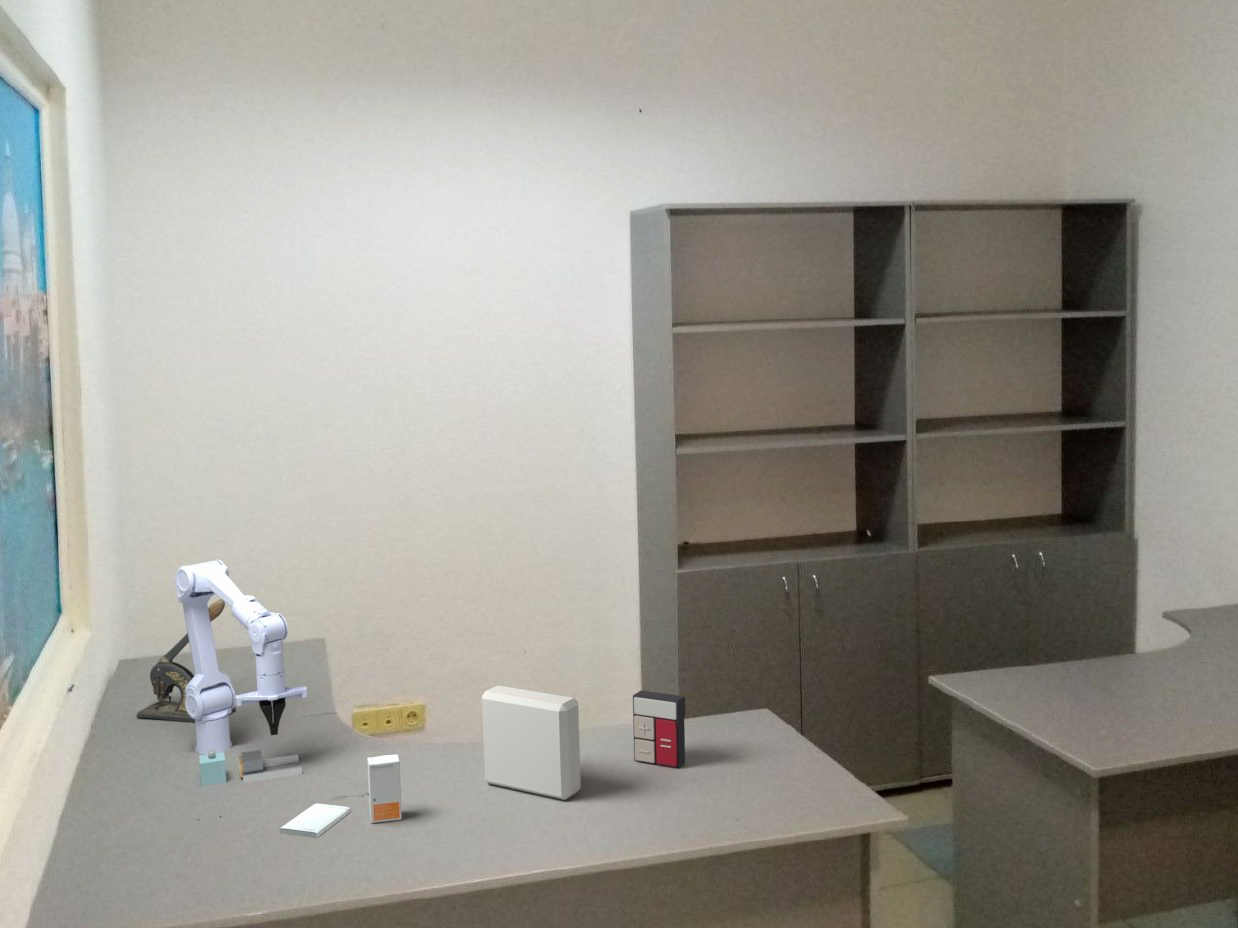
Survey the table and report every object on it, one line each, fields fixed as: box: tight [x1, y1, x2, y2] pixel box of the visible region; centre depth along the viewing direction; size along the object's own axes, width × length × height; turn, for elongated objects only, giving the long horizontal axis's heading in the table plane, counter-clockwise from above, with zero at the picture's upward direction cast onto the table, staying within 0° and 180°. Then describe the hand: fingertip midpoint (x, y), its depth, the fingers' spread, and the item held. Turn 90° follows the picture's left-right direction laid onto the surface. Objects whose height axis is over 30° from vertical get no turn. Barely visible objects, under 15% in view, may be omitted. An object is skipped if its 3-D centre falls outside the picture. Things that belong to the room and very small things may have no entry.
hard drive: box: [278, 802, 351, 839], centre depth 230 cm, size 2×8×12 cm
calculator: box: [632, 689, 686, 769], centre depth 256 cm, size 11×4×15 cm, turn 62°
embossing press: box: [136, 598, 237, 723], centre depth 295 cm, size 11×24×30 cm, turn 74°
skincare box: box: [366, 754, 402, 824], centre depth 230 cm, size 6×4×12 cm
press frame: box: [242, 753, 303, 783], centre depth 252 cm, size 12×22×3 cm, turn 111°
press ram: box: [238, 749, 264, 778], centre depth 252 cm, size 6×5×4 cm
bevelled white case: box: [481, 685, 582, 801], centre depth 244 cm, size 21×8×20 cm, turn 59°
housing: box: [198, 750, 227, 787], centre depth 249 cm, size 5×5×6 cm
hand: (274, 733), depth 253 cm, fingers closed
